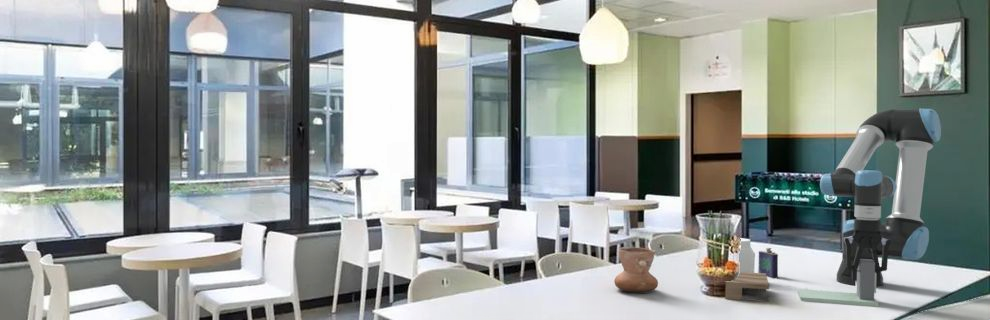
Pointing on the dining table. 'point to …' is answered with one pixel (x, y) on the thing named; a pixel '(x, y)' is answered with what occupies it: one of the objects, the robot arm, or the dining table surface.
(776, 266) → the flask
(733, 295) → the dock
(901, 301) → the dining table surface
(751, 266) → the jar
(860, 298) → the green platform with post
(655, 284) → the ceramic jug
